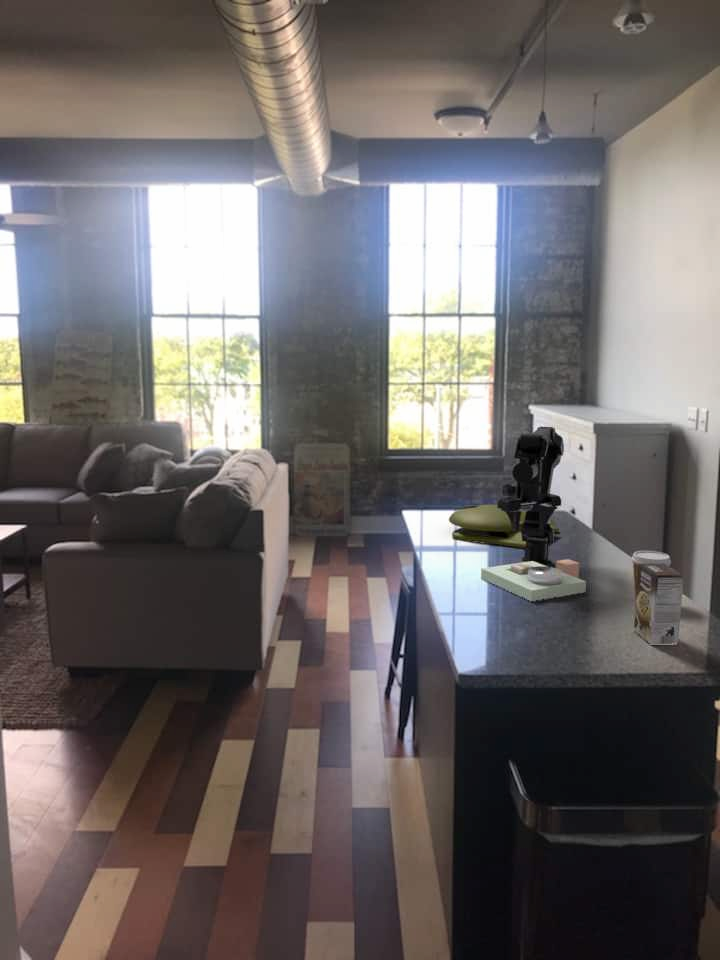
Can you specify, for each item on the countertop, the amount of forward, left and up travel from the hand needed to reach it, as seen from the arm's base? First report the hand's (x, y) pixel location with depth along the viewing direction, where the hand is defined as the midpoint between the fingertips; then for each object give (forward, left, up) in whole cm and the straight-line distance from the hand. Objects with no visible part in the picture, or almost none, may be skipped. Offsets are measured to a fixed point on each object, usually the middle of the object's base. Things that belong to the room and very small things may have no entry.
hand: (528, 531), depth 218 cm
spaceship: (-21, -42, -13) cm, 48 cm away
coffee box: (+7, +54, -12) cm, 56 cm away
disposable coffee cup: (-12, +34, -12) cm, 38 cm away
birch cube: (+7, +7, -12) cm, 16 cm away
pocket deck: (+7, +11, -12) cm, 18 cm away
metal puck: (+7, +17, -9) cm, 20 cm away
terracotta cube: (-7, +9, -12) cm, 17 cm away
